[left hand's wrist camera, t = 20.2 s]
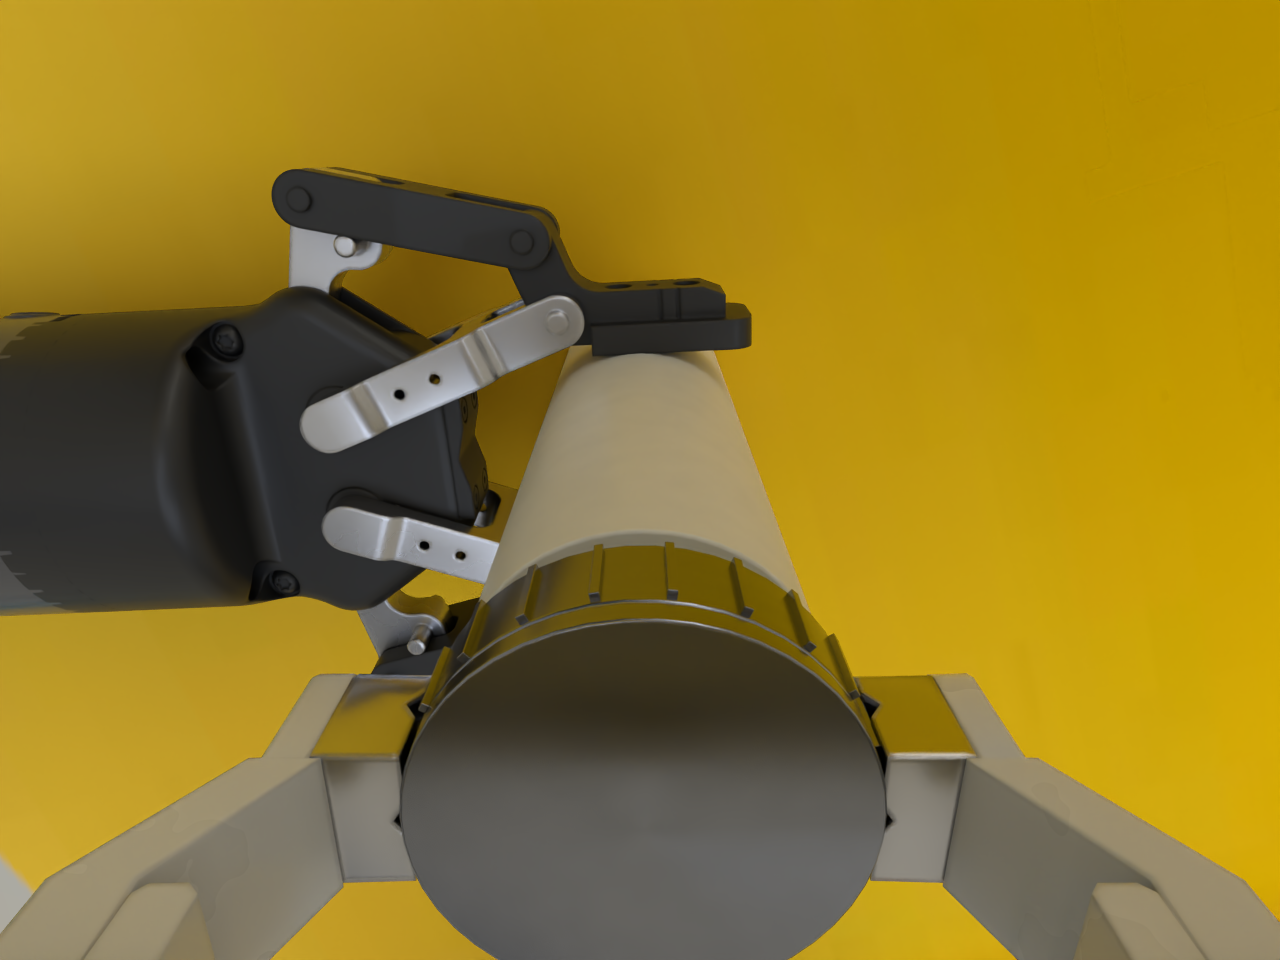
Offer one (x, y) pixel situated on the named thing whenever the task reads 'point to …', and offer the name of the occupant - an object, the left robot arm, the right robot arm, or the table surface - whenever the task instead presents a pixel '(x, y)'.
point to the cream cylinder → (641, 470)
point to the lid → (643, 766)
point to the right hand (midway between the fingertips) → (744, 433)
